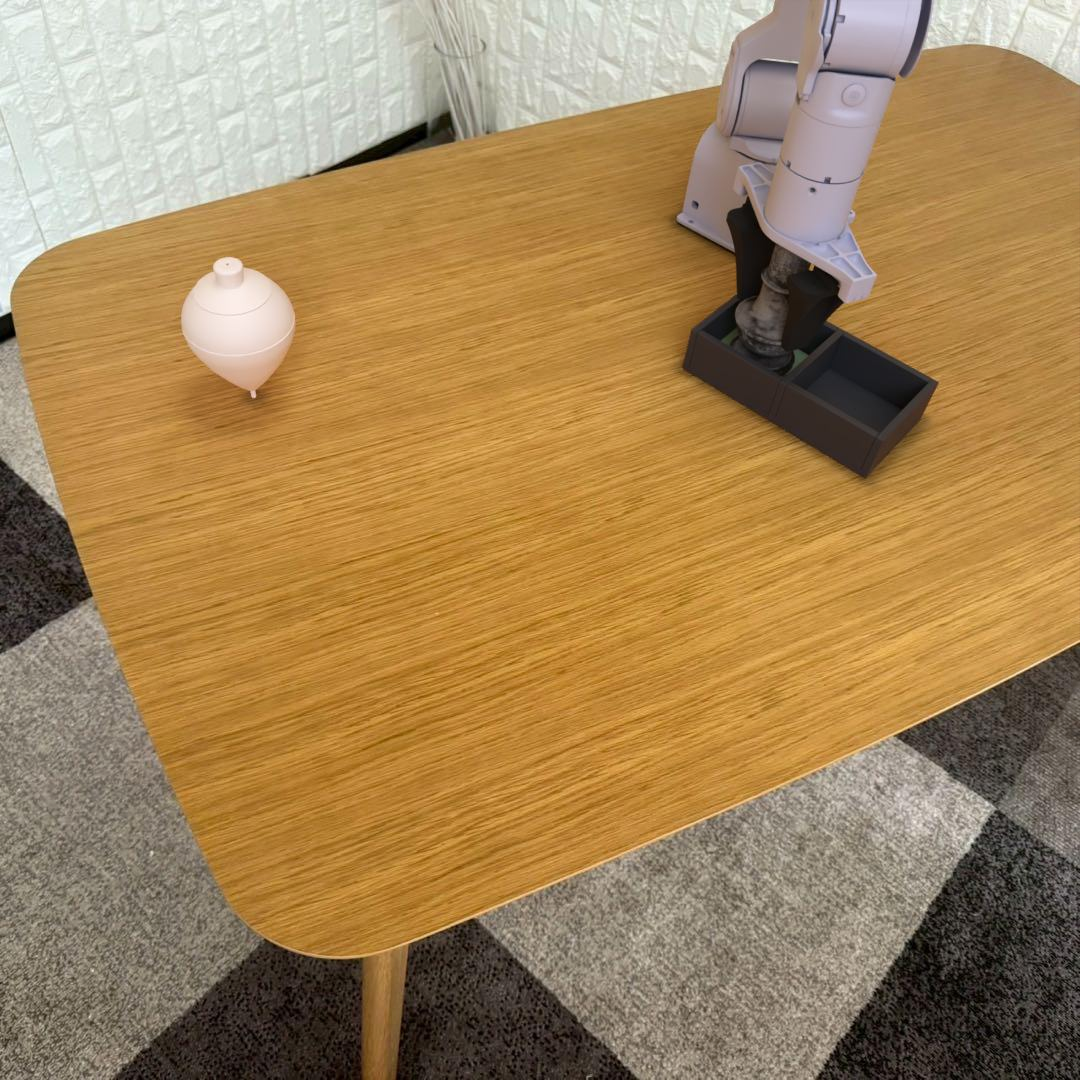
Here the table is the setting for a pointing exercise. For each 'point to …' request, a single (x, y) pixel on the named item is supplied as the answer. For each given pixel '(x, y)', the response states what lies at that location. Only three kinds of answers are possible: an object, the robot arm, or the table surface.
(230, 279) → the spinning top
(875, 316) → the table surface
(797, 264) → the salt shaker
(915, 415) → the divided box
